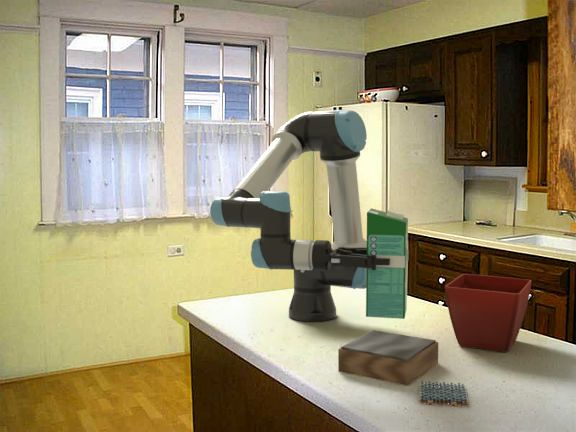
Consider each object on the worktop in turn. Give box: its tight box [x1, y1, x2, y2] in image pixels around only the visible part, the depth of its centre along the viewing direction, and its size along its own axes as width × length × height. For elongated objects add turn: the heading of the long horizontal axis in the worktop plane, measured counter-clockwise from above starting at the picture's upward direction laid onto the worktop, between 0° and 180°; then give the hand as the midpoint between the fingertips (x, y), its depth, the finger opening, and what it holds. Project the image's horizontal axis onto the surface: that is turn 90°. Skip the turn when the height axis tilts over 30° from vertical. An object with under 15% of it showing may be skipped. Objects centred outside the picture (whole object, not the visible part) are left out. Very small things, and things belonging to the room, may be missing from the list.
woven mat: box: [418, 380, 470, 408], centre depth 144 cm, size 10×11×2 cm
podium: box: [337, 329, 439, 386], centre depth 163 cm, size 18×18×6 cm
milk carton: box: [365, 208, 409, 320], centre depth 160 cm, size 9×9×25 cm
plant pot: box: [444, 273, 532, 353], centre depth 181 cm, size 19×19×17 cm
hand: (406, 258), depth 159 cm, fingers closed on milk carton, 9 cm apart
